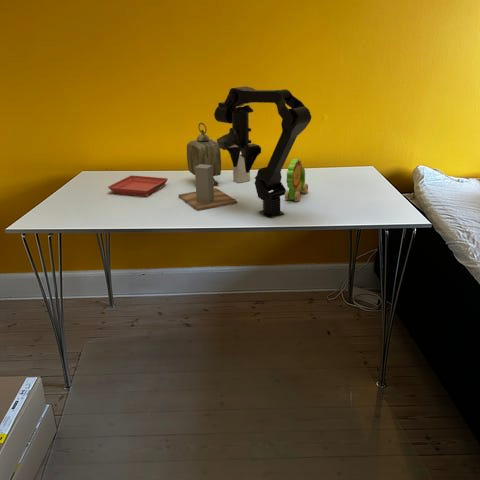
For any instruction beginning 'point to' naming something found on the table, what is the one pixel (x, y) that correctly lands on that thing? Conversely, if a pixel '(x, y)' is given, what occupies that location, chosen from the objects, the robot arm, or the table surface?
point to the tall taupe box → (204, 183)
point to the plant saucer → (138, 185)
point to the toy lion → (295, 180)
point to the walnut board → (218, 201)
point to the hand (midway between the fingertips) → (241, 169)
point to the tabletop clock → (204, 153)
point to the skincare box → (240, 171)
